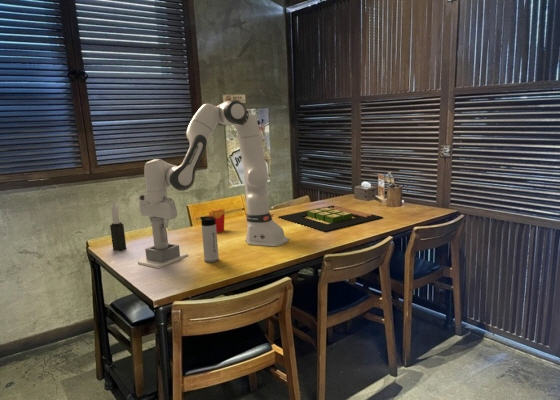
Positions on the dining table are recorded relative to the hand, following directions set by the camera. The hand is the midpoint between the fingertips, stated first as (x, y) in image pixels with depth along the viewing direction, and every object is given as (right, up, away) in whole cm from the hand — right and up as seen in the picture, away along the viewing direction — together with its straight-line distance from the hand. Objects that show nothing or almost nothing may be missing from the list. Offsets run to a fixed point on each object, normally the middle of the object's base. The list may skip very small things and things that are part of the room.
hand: (159, 226), depth 180 cm
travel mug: (+23, -15, -1) cm, 28 cm away
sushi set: (+84, 0, +66) cm, 107 cm away
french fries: (+19, -6, +47) cm, 51 cm away
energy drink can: (0, -10, +2) cm, 10 cm away
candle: (-26, -13, +21) cm, 36 cm away
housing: (+1, -15, +3) cm, 15 cm away
